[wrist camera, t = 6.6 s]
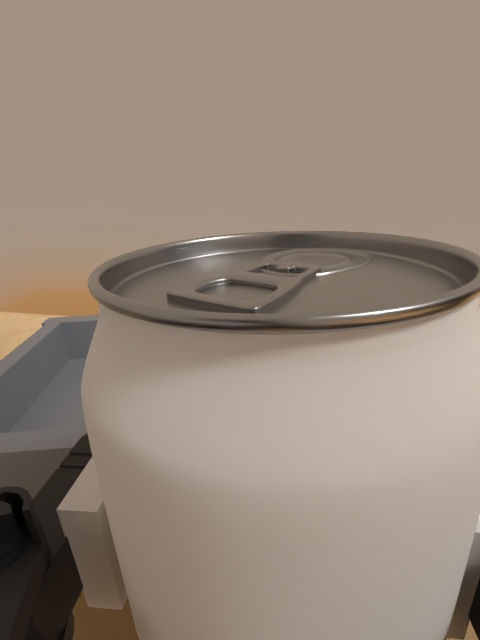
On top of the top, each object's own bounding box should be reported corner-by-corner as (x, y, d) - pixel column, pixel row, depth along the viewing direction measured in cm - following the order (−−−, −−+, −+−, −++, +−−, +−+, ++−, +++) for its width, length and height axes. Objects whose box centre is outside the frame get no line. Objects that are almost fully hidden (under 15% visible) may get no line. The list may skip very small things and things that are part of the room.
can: (430, 643, 10) (532, 233, 6) (358, 1051, 6) (599, 473, 1) (251, 532, 14) (235, 225, 10) (114, 720, 9) (-39, 279, 5)
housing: (230, 351, 34) (228, 307, 32) (248, 508, 17) (245, 433, 16) (59, 362, 33) (48, 317, 31) (-94, 539, 16) (-135, 463, 15)
